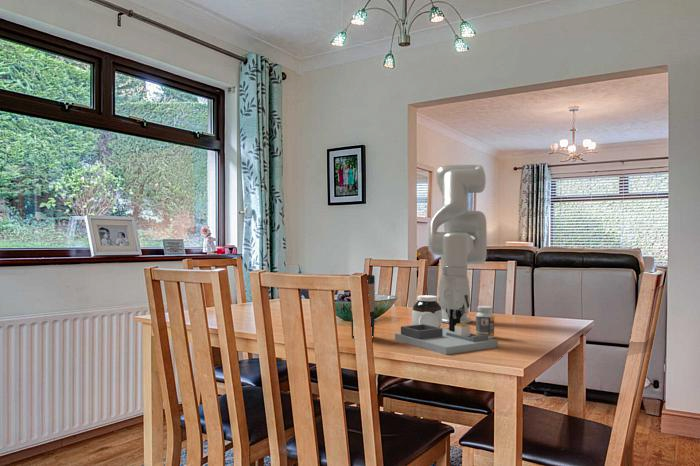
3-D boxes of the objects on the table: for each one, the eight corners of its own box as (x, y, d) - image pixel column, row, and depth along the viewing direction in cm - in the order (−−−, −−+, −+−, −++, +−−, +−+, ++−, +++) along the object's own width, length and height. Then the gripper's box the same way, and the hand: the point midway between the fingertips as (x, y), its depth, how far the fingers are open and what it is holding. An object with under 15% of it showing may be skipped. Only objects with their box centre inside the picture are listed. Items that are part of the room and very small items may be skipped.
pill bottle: (494, 339, 167) (494, 308, 167) (476, 338, 169) (476, 307, 169) (493, 336, 173) (493, 305, 173) (475, 335, 174) (475, 305, 174)
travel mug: (379, 337, 169) (379, 275, 169) (362, 340, 164) (362, 276, 164) (362, 334, 175) (363, 274, 175) (346, 337, 169) (346, 275, 170)
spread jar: (430, 326, 191) (430, 294, 191) (452, 331, 181) (452, 297, 182) (404, 329, 185) (404, 296, 185) (425, 334, 175) (426, 299, 175)
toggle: (454, 335, 162) (454, 323, 162) (463, 334, 163) (463, 322, 163) (461, 337, 159) (461, 325, 159) (470, 336, 161) (470, 324, 161)
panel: (395, 339, 166) (395, 325, 166) (443, 333, 176) (443, 320, 176) (445, 354, 145) (445, 338, 145) (497, 347, 156) (497, 331, 156)
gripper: (430, 271, 169) (430, 328, 169) (462, 274, 156) (462, 336, 156) (448, 270, 173) (447, 326, 172) (480, 273, 160) (480, 333, 160)
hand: (454, 330), depth 164 cm, fingers closed
